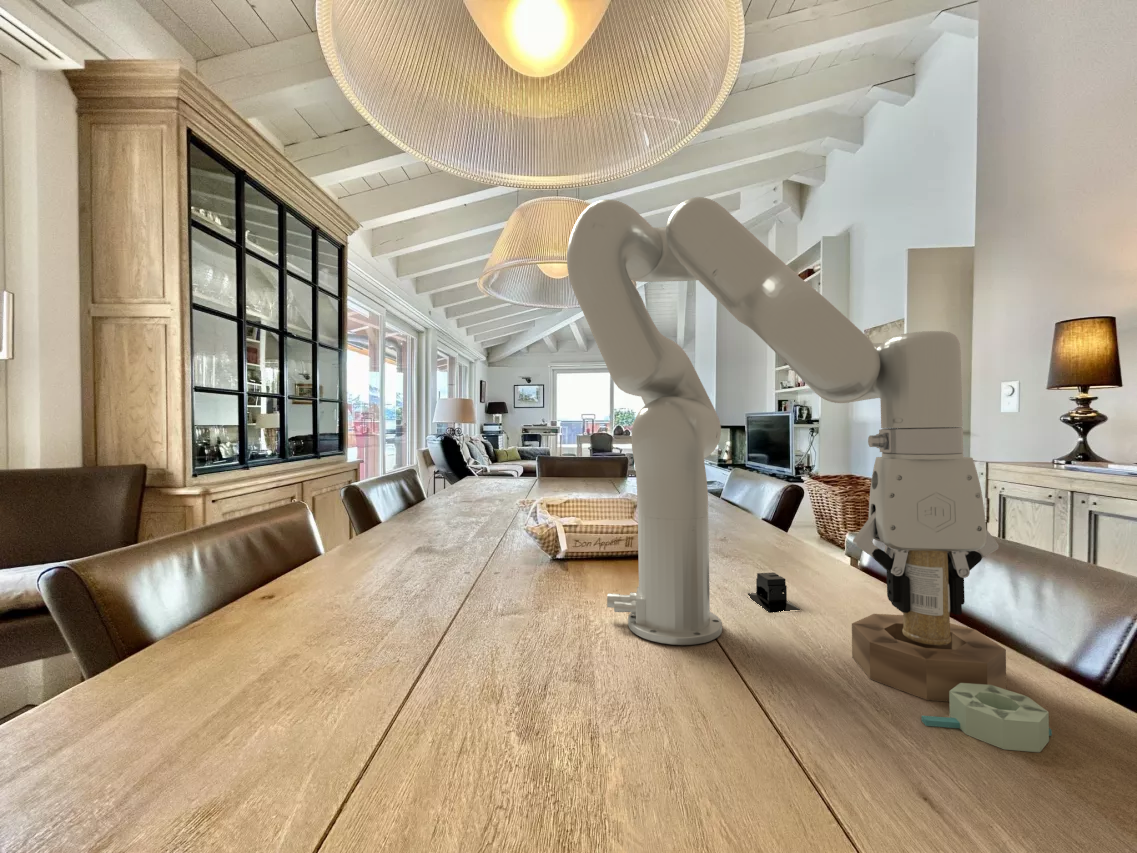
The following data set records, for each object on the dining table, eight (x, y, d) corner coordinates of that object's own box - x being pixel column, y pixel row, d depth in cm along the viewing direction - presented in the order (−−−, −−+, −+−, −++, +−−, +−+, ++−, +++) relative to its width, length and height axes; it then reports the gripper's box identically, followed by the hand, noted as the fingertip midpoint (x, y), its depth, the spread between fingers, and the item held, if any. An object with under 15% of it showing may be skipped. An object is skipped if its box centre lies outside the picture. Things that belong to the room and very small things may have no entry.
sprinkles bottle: (959, 640, 57) (956, 517, 57) (940, 650, 54) (937, 522, 55) (912, 627, 61) (910, 512, 61) (893, 636, 58) (890, 516, 58)
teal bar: (925, 725, 47) (925, 720, 47) (921, 720, 48) (921, 715, 48) (1051, 735, 46) (1051, 729, 46) (1045, 730, 46) (1045, 724, 46)
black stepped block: (815, 618, 76) (814, 587, 76) (766, 620, 75) (766, 589, 75) (773, 591, 88) (773, 564, 88) (732, 593, 87) (731, 566, 87)
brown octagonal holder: (885, 696, 53) (884, 657, 53) (841, 644, 65) (840, 612, 65) (1032, 707, 50) (1031, 666, 50) (956, 650, 63) (956, 617, 63)
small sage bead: (978, 747, 44) (978, 717, 44) (939, 707, 51) (938, 681, 51) (1065, 754, 43) (1065, 724, 43) (1014, 712, 49) (1013, 686, 49)
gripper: (851, 447, 56) (855, 618, 56) (1030, 444, 53) (1036, 625, 53) (828, 445, 63) (832, 596, 63) (985, 442, 60) (989, 601, 60)
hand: (925, 607), depth 58 cm, fingers closed on sprinkles bottle, 4 cm apart
